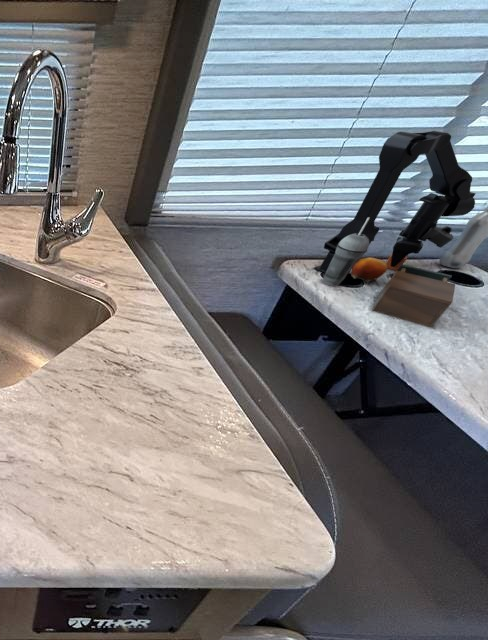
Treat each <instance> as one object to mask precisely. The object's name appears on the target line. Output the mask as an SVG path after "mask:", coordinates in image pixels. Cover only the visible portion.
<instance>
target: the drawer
mask: <svg viewBox="0 0 488 640" xmlns="http://www.w3.org/2000/svg"><path fill="white" fill-rule="evenodd" d="M396 271H401V272H406V273H410V274H414V275H419V276H423V277H427V278H431V279H436V280H440V281H444V282H449V281H450V280H451V279H452V276H453V275H452V274H447V273H443V272H438V271H434V270H430V269H425V268H420V267H416V266H411V265H409V264H408V265H407V264H404V263H403V264H401V265H400V266H399V268H398V269H397V270H396Z"/></svg>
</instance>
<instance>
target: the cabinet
mask: <svg viewBox="0 0 488 640" xmlns="http://www.w3.org/2000/svg"><path fill="white" fill-rule="evenodd" d="M455 289H456V283H453V282H449V281H448V282H444V281H440V280H436V279H431V278H427V277H423V276H419V275H414V274H410V273H406V272H401V271H397V270H395V272H394V273H393V274H392V275H391V278H390V279H389V280H388V281H387V283H386V284H385V286H384V287H383V288H382V289H381V291H380V293H379V295H378V297H377V299H376V301H375V304H374V306H373V308H372V311H374V312H377V313H380V314H384V315H388V316H390V317H394V318H398V319H401V320H405V321H409V322H413V323H415V324H420V325H423V326H427V327H429V328H431V327H433V325H434V324H435V323H436V322H437V321H438V319H440V317H441V316H442V315H443V314H444V313H445V311H447V309H448V308H449V307H450V306H451V305H452V304H453V302H454V294H455Z"/></svg>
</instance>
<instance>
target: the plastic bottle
mask: <svg viewBox="0 0 488 640" xmlns="http://www.w3.org/2000/svg"><path fill="white" fill-rule="evenodd" d="M487 237H488V205H487V206H486V207H484V211H482V212H480V213H477V214H476V215H474V216H472V217H471V218H470V219H469V220H468V221H467V223H466V225H465V226H464V228H463V230H462V231H461V233H460V235H459V236H458V238H457V239H456V240H455V241H454V242H453V244H452V245H451V246H450V247H449V248H448V249H447V250H445V251H444V253H443V254H442V255H441V256H440V258H439V260H438V262H439V265H442V266H444V267H447V268H451V269H452V268H453V269H460V268H463V267H465V266H466V265H467V264H469V263H470V260H471V259H472V257H473V255H474V253H475V252H476V250H477V249H478V247H479V246H480V245H481V243H482V242H483V241H484V240H485V239H486V238H487Z"/></svg>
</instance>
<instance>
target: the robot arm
mask: <svg viewBox="0 0 488 640" xmlns="http://www.w3.org/2000/svg"><path fill="white" fill-rule="evenodd" d="M451 139H452V135H451V134H450V133H449V132H444V131H437V130H430V131H424V132H407V131H397V132H395V133H394V134H393V135H391V136H390V137H388V138H387V139H386V140H385V142H384V143H383V144H382V147H381V150H380V153H379V155H378V164H379V169H378V171H377V173H376V176H375V177H374V179H373V181H372V183H371V185H370V186H369V189H368V191H367V193H366V195H365V197H364V198H363V200H362V202H361V204H360V207H359V208H358V210H357V212H356V214H355V216H354V217H353V219H352V220H351V221H349V222H347V223H346V224H345V225H344V226H343V227H342V228H341V230H340V231H339V232H338V233H337V234H336V235H334V236H333V237H331V238H330V239H328V240H327V241H326V242H324V245H323V249H324V250H326V251H328V253H327V254H326V256H325V258H324V259H323V261H322V263H321V264H320V265H316V266H314V267H313V269H314V270H317V271H319V272H321V273H324V274H325V273H326V271H327V269H328V267H329V265H330V263H331V261H332V258H333V256H334V254H335V251H336V248H337V245H338V244H339V243H340V241H341V240H342V239H343V238H345V237H346V236H348V235H351V234H356V233H359V232H360V230H361V229H362V227H363V225H364V223H365V222H366V220H367V218H370V219H369V220H368V222H367V224H366V226H365V228H364V229H363V231H362V233H361V234H363V235H365V236H366V237H367V238H368V239H369V246H370V245H371V243H372V242H374V241H375V237H376V236H377V234H378V233H379V230H380V227H378V226H376V225H375V221H376V220H377V218H378V216H379V214H380V212H381V211H382V209H383V207H384V206H385V203H386V202H387V199H388V198H389V196H390V194H391V192H392V190H393V189H394V187H395V186H396V183H397V182H398V180H399V178H400V176H401V175H402V172H403V171H404V170H405V169H406V168H408V167H409V166H410V165H412V164H413V163H416V161H417V159H418V158H419V157H420V156H421V155H425V157H426V160H427V163H428V165H429V168H430V170H431V173H432V175H431V177H430V178H429V181H428V183H429V190H430V191H432V192H430V193H428V194H427V195H423V196H422V197H420V198H419V201H420V202H422V204H421V206H419V208H418V210H416V212H415V214H414V215H413V216H412V217H411V219H410V221H409V223H408V224H407V226H405V227H403V228H402V229H401V231H400V232H399V234H398V237H397V238H396V240H395V243H394V244H393V247H392V252H391V254H392V260H391V266H392V267H395V266H396V265H397V264H398V263H399V262H400V261H402V260H403V259H404V258H405V257H406V256H408V255H410V254H416V255H417V254H419V253H420V252H421V250H423V247H424V243H423V242H426V241H427V240H428V241H429V242H430V243H432V244H434V245H436V247H438V248H443V247H444V246H446V245H447V244H449V243H450V242H451V241H453V240H454V235H453V234H452V233H451V232H452V230H453V228H452V227H451V226H448V225H447V226H443V227H441V226H439V227H438V223H439V222H438V221H439V220H440V219H441V217H444V218H445V217H462V216H465V215H468V214H469V213H470V212H472V211H473V210H474V208H475V206H476V200H475V198H474V197H475V196H476V192H472V191H471V187H472V183H473V177H472V175H471V174H470V172H469V171H467V170H466V169H464V168H463V167H461V166H460V165H459V162H458V159H457V156H456V153H455V150H454V147H453V145H452V141H451ZM433 192H434V193H433ZM399 236H400V237H399Z"/></svg>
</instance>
